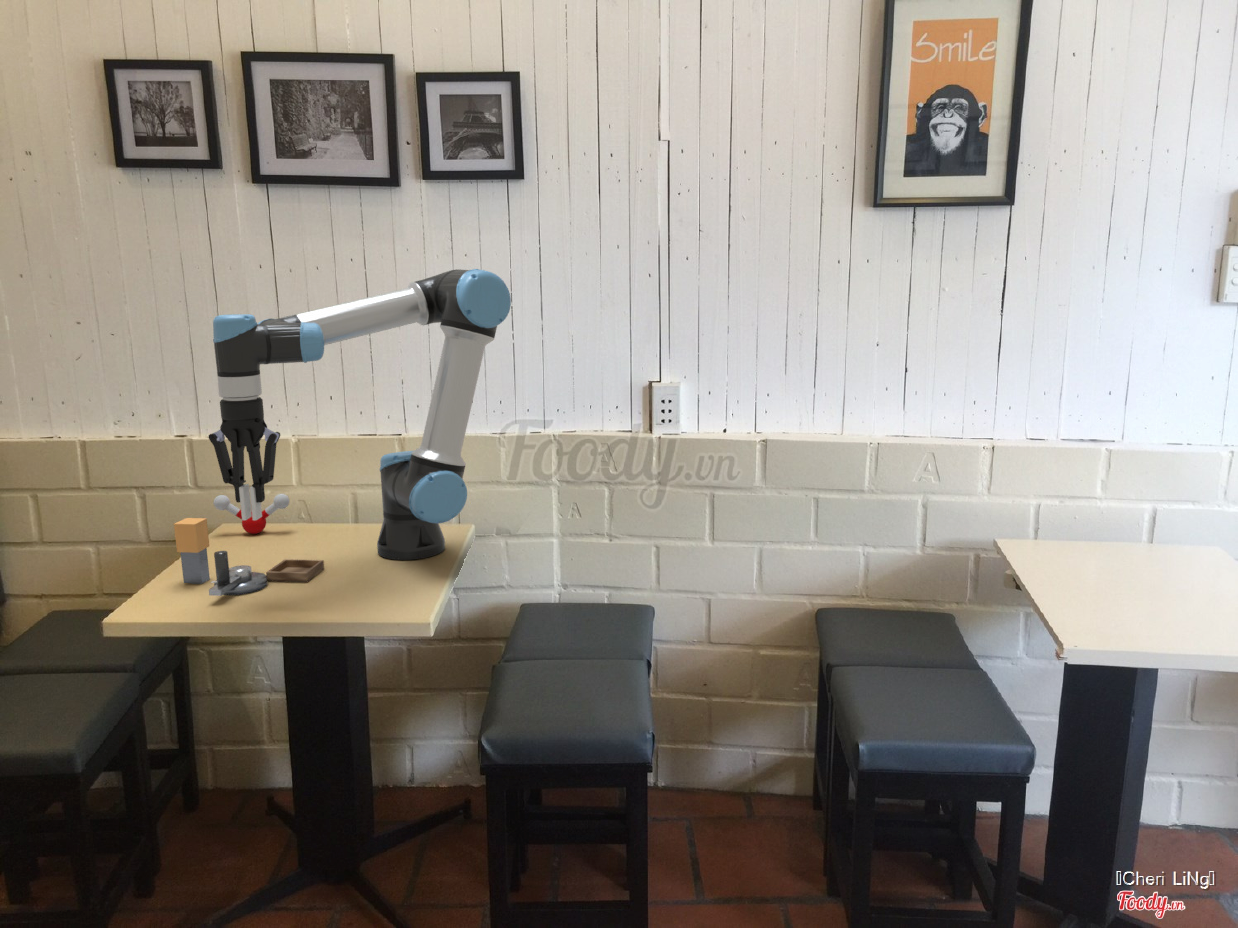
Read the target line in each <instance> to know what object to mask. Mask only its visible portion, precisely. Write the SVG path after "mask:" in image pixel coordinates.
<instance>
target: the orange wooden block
mask: <svg viewBox="0 0 1238 928" xmlns="http://www.w3.org/2000/svg"><path fill="white" fill-rule="evenodd" d="M208 527H209V526H208V518H204V517H203V518H202V517H196V518H195V517H184V518H183V519H181V520H180V521H179V520H178V521H177V522H175V523H173V528H174V536H175V537H174V538H175V544H176V545H175V547H176V553H180V552H190V553H198V552H200V551H202V550H204V549H205V548H209V547H210V539H209V529H208Z"/></svg>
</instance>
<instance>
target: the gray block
mask: <svg viewBox="0 0 1238 928" xmlns="http://www.w3.org/2000/svg"><path fill="white" fill-rule="evenodd" d="M207 548H208V547H207ZM207 548H205V549H204V550H202V551H200V552H198V553H190V552H179V553H180V561H181V570H182V579H183V584H184V583H189V584H190V583H191V584H193V585H203V584H204V583H206V582H208V581H209V580H210V579H211V577H210V568H209V566H210V565H209V559H208V550H207ZM189 584H188V585H189ZM191 584H190V585H191Z"/></svg>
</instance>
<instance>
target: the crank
mask: <svg viewBox="0 0 1238 928" xmlns="http://www.w3.org/2000/svg"><path fill="white" fill-rule="evenodd" d="M213 556H214V566H215V575H216V580H217V584H216V585H215V586H214V585H213V586H212V587H211V588H209V589H208V595H209V596H216V597H217V596H218V597H219V596H224V595H223V594H224V593H226V592H227V591H229V590H230V589H232V588H233V587H235V586H236V585H238V584H239V583H245V582H249V581H251V580H252V572H253V571H252V566H250V565H246V564H245V565H243V564H242V565H235V566H232V567H230V564H229V555H228V551H227V550H219V551H215V552H214V553H213Z"/></svg>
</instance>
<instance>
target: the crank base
mask: <svg viewBox="0 0 1238 928" xmlns="http://www.w3.org/2000/svg"><path fill="white" fill-rule="evenodd" d="M210 583H211V584H213V586H215V585H216V584H217V579H216V580H212V581H211V582H210ZM267 586H268V581H267V576H266V573H263V572H256V571H252V580H251V581H249V582H245V583H239V584H238V585H236V586H235V587H233V588H232V589H230V590H229V591H227V592H226V593H224V594H223V595H222V596H242V595H249V594H253V593H257V592H259V591H262V590H264V589H265V588H266V587H267Z"/></svg>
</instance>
